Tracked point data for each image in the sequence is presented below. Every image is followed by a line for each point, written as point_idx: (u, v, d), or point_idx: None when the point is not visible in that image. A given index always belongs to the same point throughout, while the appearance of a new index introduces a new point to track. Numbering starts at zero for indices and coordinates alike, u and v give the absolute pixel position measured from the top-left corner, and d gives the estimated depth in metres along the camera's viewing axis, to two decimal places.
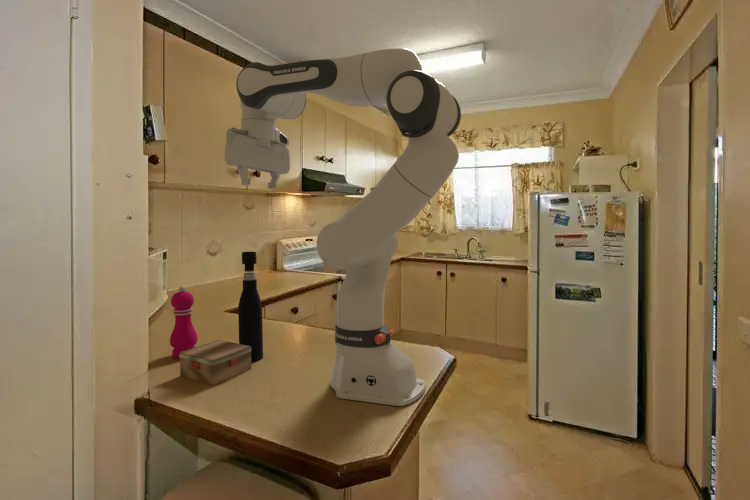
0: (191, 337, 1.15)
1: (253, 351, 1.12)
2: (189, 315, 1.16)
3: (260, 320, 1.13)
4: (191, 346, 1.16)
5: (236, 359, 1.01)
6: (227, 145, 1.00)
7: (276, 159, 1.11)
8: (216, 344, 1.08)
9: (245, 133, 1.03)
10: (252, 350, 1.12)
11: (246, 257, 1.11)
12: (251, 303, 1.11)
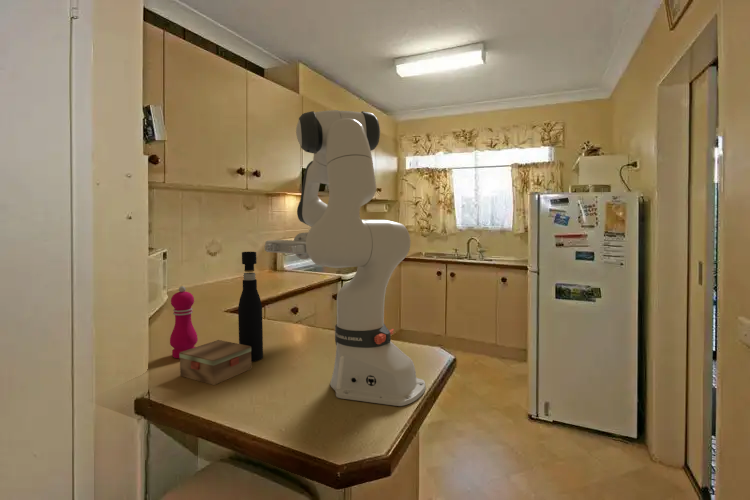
0: (191, 337, 1.15)
1: (253, 351, 1.12)
2: (189, 315, 1.16)
3: (260, 320, 1.13)
4: (191, 346, 1.16)
5: (236, 359, 1.01)
6: None
7: None
8: (216, 344, 1.08)
9: None
10: (252, 350, 1.12)
11: (246, 257, 1.11)
12: (251, 303, 1.11)
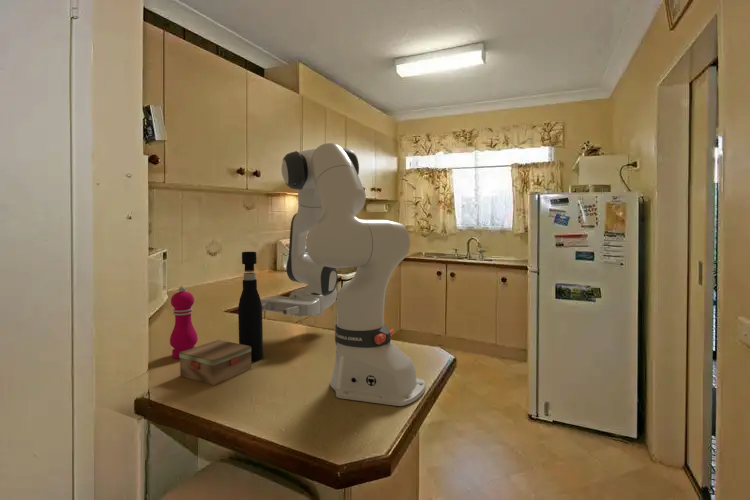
0: (191, 337, 1.15)
1: (253, 351, 1.12)
2: (189, 315, 1.16)
3: (260, 320, 1.13)
4: (191, 346, 1.16)
5: (236, 359, 1.01)
6: None
7: (302, 301, 1.26)
8: (216, 344, 1.08)
9: None
10: (252, 350, 1.12)
11: (246, 257, 1.11)
12: (251, 303, 1.11)
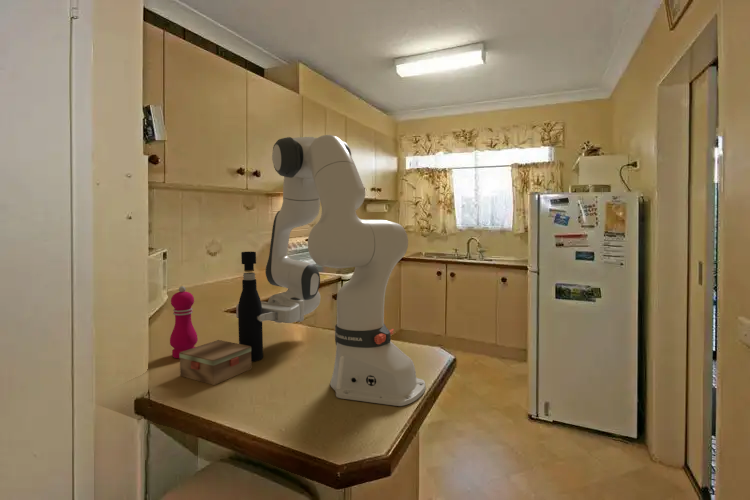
0: (191, 337, 1.15)
1: (253, 350, 1.12)
2: (189, 315, 1.16)
3: None
4: (191, 346, 1.16)
5: (236, 359, 1.01)
6: None
7: (280, 306, 1.18)
8: (216, 344, 1.08)
9: None
10: (252, 350, 1.12)
11: (246, 257, 1.11)
12: (251, 303, 1.11)
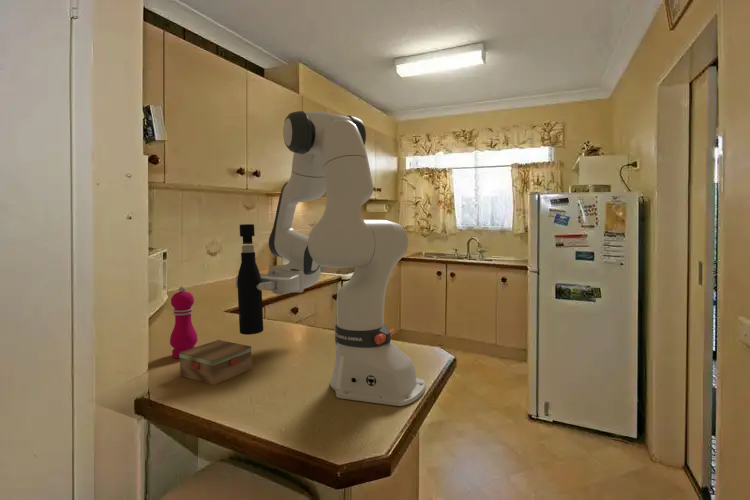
0: (191, 337, 1.15)
1: (254, 323, 1.11)
2: (189, 315, 1.16)
3: (259, 293, 1.13)
4: (191, 346, 1.16)
5: (236, 359, 1.01)
6: None
7: (280, 277, 1.17)
8: (216, 344, 1.08)
9: None
10: (252, 323, 1.11)
11: (244, 229, 1.10)
12: (250, 275, 1.10)
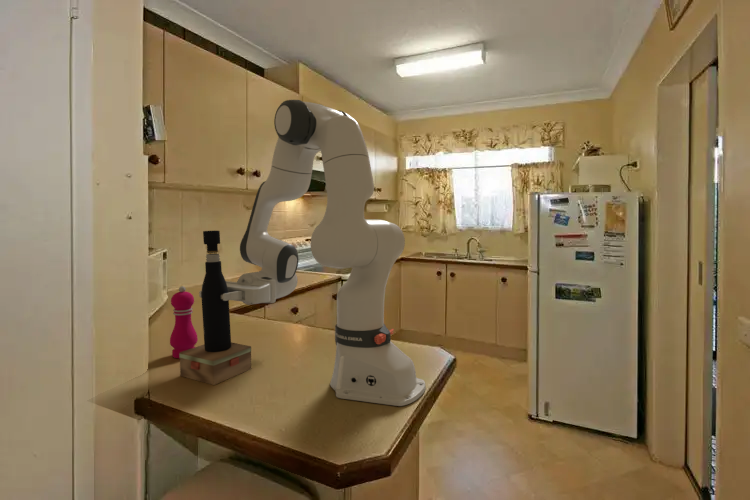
0: (191, 337, 1.15)
1: (219, 339, 1.01)
2: (189, 315, 1.16)
3: (226, 306, 1.02)
4: (191, 346, 1.16)
5: (236, 359, 1.01)
6: None
7: (249, 286, 1.07)
8: None
9: None
10: (218, 339, 1.01)
11: (208, 236, 1.00)
12: (215, 287, 1.00)
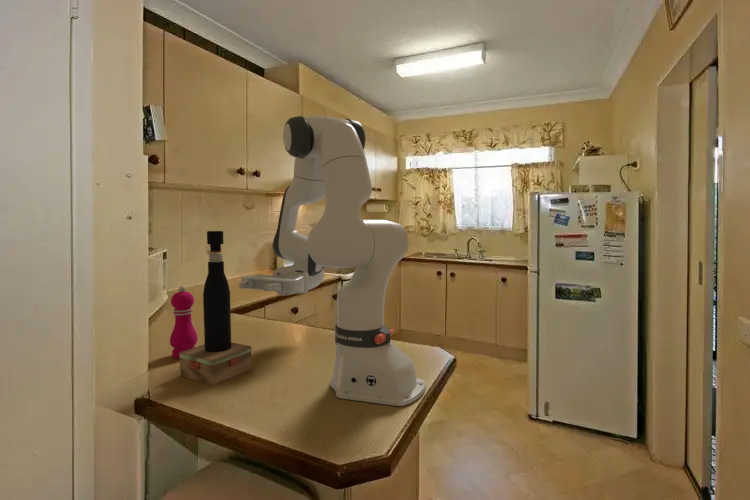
0: (191, 337, 1.15)
1: (220, 340, 1.01)
2: (189, 315, 1.16)
3: (227, 306, 1.03)
4: (191, 346, 1.16)
5: (236, 359, 1.01)
6: None
7: (285, 278, 1.19)
8: None
9: None
10: (218, 339, 1.01)
11: (211, 236, 1.00)
12: (217, 287, 1.01)
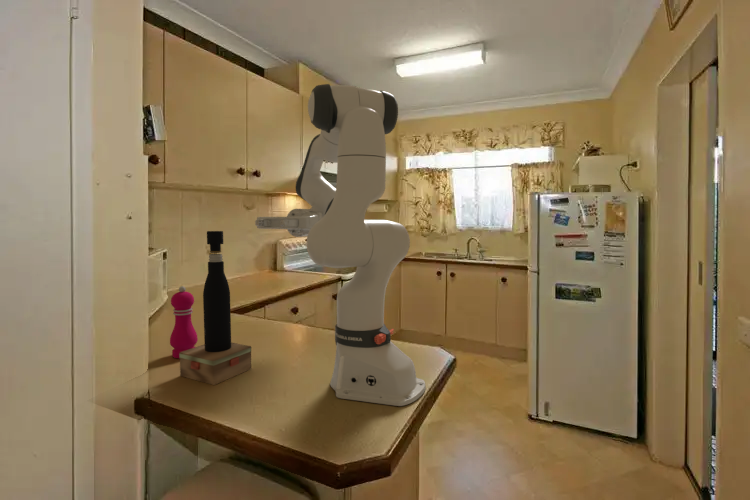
0: (191, 337, 1.15)
1: (220, 339, 1.01)
2: (189, 315, 1.16)
3: (227, 306, 1.03)
4: (191, 346, 1.16)
5: (236, 359, 1.01)
6: None
7: None
8: None
9: None
10: (218, 339, 1.01)
11: (211, 236, 1.00)
12: (217, 287, 1.01)
